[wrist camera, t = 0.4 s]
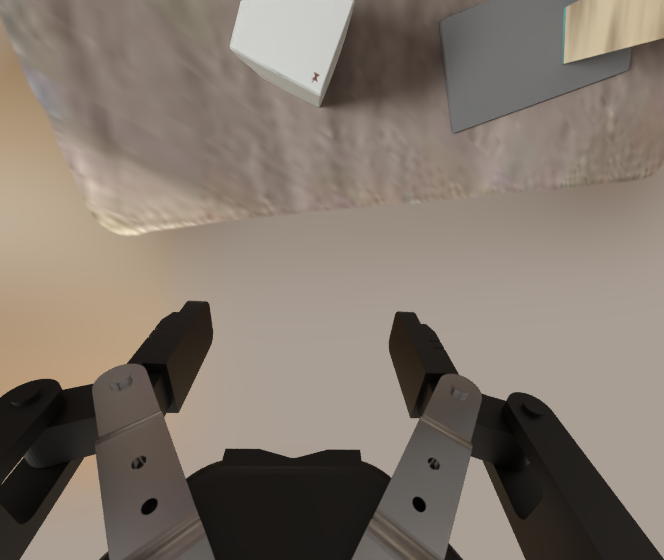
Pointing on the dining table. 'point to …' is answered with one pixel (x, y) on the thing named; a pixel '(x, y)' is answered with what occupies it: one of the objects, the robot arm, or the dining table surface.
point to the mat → (513, 59)
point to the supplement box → (293, 42)
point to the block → (609, 26)
